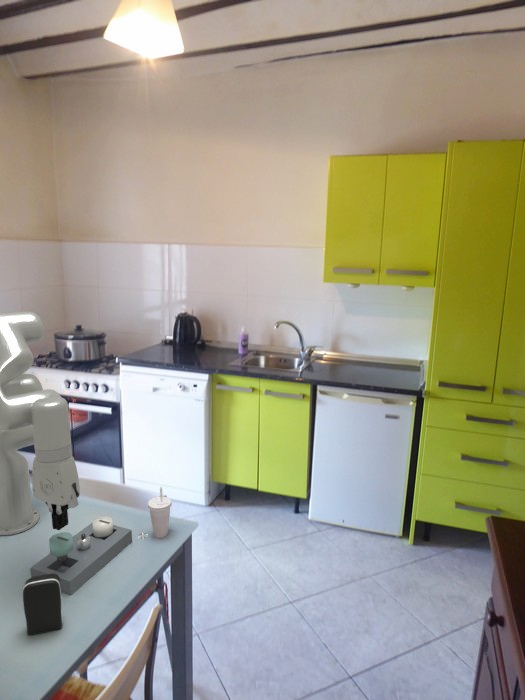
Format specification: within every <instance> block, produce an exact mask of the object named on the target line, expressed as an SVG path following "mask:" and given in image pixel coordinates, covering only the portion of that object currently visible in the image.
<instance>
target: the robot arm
mask: <svg viewBox="0 0 525 700" xmlns="http://www.w3.org/2000/svg"><path fill="white" fill-rule="evenodd" d="M44 326H45V325H44V323H43V322H42V319H41V318H40V316H39V315H38V314H37V313H35V312H33V311H11V312H10V311H9V312H0V536H11V535H16V534H20V533H23V532H25V531H27V530H30V529H31V528H33V527H34V526H35V525H36V524H37V523H38V522H39V520H40V513H39V511H38V510H36V509H34V508H33V502H32V499H33V498H34V499H36V500H37V501H40V502H43V503H45V504H46V506H47V509H48V511H49V513H50V514H51V524H52V529H53V530H56V531H61V530H63V528H65V527H66V526H68V525H69V516H68V515H69V514H68V510H70V509H74V508H76V507H78V506H79V501H78V498H80V491H81V490H80V479H79V474H78V473H79V472H78V469H77V464H76V461H75V460H76V459H75V457H74V456H73V448H72V447H73V446H72V438H71V426H70V415H69V414H70V413H69V404H68V401H67V400H66V399H65V398H64V397H62V396H61V395H60V394H59V392H57V391H56V390H55V389H51V388H49V389H43V385H42V383H41V381H40V379H39V378H38V377H37V376H36V375H35V374H32V373H26V372H27V371H29V369H31V367H32V365H34V354H33V352H32V351H31V349H30V347H29V346H28V344H34V343H38V342H41V341H42V339H43V338H44V336H45V327H44ZM30 446H33V448H34V455H35V457H33V461H32V467H31V468H32V469H31V470H32V472H31V473H32V474H31V480H30V470H29V469H30V468H29V463H28V460H27V458H25V456H24V455H22V454H21V453H19V452H18V450H21V449H23V448H26V447H30ZM31 485H32V487H31ZM31 490H32V491H31ZM32 495H33V498H32Z"/></svg>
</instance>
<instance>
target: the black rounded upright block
mask: <svg viewBox="0 0 525 700" xmlns="http://www.w3.org/2000/svg"><path fill="white" fill-rule="evenodd" d="M62 593H63V592H61V582H60V577H59V576H58V575H57V574H54V573H52V574H45V575H40V576H34V577H31V576H30V577H29V578H28V579H27V580H26V581H25V583H24V585H23V589H22V603H23V610H24V616H25V622H26V632H27V635H29V636H30V635H37V634H42V633H47V632H51V631H54V630H55V631H56V630H59V629H62V627H63V626H64V623H63V622H64V621H63V612H62V610H63V609H62V608H63V605H62Z"/></svg>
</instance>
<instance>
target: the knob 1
mask: <svg viewBox="0 0 525 700" xmlns="http://www.w3.org/2000/svg"><path fill="white" fill-rule="evenodd" d="M72 537H73V534H72V533H70V532H65V531H62V532H58V533H55V534H54V535H52V536H51V537H50V538H49V540H48V541H49V543H48V545H49V554H51V555H52V556H57V561H58V562H64V561H66V560H67V559H68V553H70V552H71V551H72V550H73V540H72Z"/></svg>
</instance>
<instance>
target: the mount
mask: <svg viewBox="0 0 525 700" xmlns="http://www.w3.org/2000/svg"><path fill="white" fill-rule="evenodd" d="M82 534H85V535H88V536H90V546H91V547H90V549H88V550H86V551H79V550H78V545H77V539H78V538H79V537H80V536H81V535H82ZM72 540H73V550H72V551H71V552H70V553H68V559H67V560H66V561H64V562H58V561H57V556H52V555H51V554H50V553H48V554H47V555H46V556H44V557H43V558H41V559H40V560H38V561H37V562H36V563H34V564H33V565H32V566H31V567H30V569H29V570H30V578H31V577H34V576H40V575H45V574H52V573H54V574H57V575H58V576H59V577H60V582H61V592H62V593H64V594H67V595H70V596H72V595H73V594H74V593H75V592H76V591H77V590H79V589H80V588H81V587H83V585H84V584H85V583H87V582H88V581H89V580H90V579H91V578H92V577H94V576H95V575H96V574H97V573H98V572H99V571H101V570H102V569H103V568H104V567H105V566H106V565H108V563H110V562H111V560H113V559H115V557H116V556H117V555H119V554H120V553H121V552H122V551H123V550H124V549H126V548H127V547H128V546H129V545H131V543H133V531H132V529H129V528H127V527H126V528H125V527H122V526H119V525H115V524H113V532H112V534H110V535H109V536H108V538H106V539H105V540H102V539H99V537H95V536H94V535H93V521H92V522H91V523H90V524H88V525H87V526H86V527H84V528H83V529H81V530H80V531H78V533H76V534H74V535H72Z"/></svg>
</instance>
